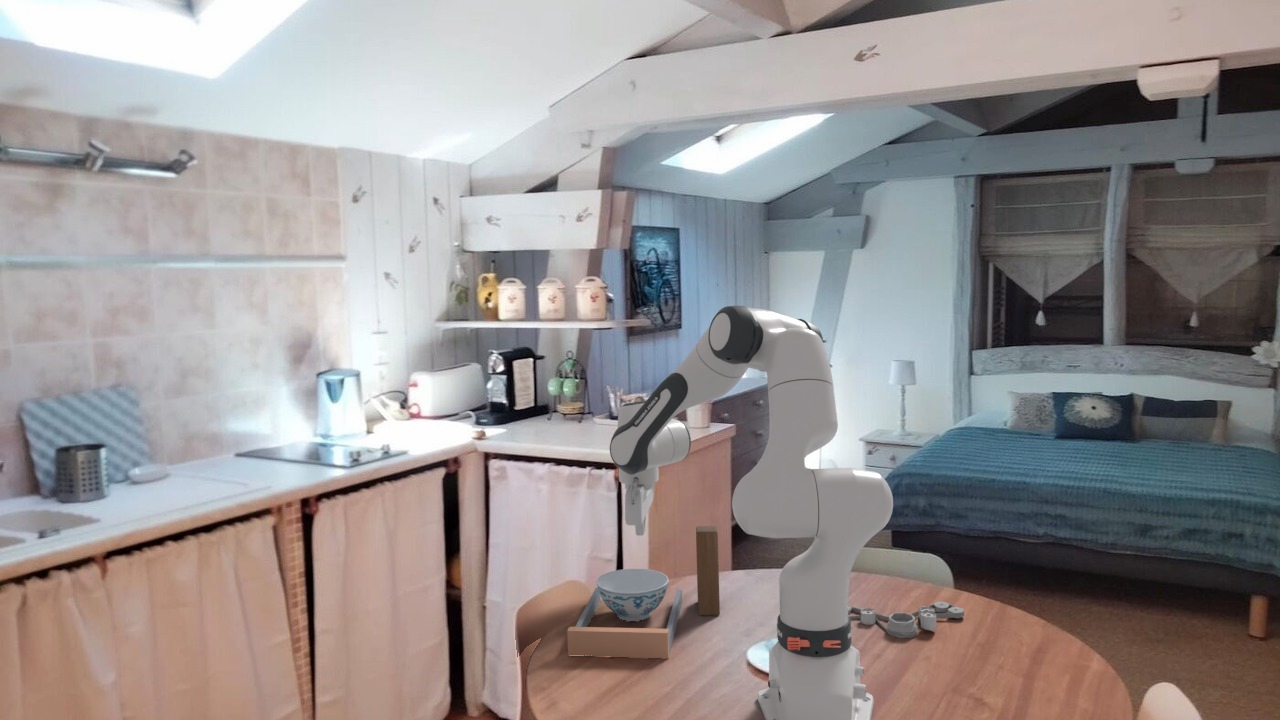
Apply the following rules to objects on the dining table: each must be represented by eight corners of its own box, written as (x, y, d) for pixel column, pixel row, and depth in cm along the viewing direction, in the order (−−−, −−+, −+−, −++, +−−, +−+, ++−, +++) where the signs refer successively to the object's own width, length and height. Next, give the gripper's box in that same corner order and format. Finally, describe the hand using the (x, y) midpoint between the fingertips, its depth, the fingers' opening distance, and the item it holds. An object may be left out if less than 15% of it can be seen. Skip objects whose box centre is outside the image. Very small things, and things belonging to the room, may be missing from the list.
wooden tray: (668, 659, 169) (667, 633, 169) (568, 656, 172) (567, 630, 171) (682, 602, 198) (681, 580, 197) (596, 601, 200) (595, 579, 200)
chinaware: (586, 611, 194) (585, 576, 194) (648, 598, 201) (647, 564, 200) (617, 635, 181) (615, 597, 180) (682, 620, 188) (681, 583, 187)
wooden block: (698, 600, 199) (696, 520, 197) (719, 600, 198) (717, 519, 197) (698, 616, 190) (695, 531, 188) (719, 616, 189) (717, 531, 188)
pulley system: (978, 643, 174) (959, 610, 189) (978, 620, 173) (958, 588, 188) (833, 647, 177) (825, 614, 192) (832, 624, 176) (824, 593, 191)
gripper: (646, 484, 191) (648, 548, 192) (658, 462, 211) (660, 520, 212) (617, 484, 192) (619, 548, 193) (631, 462, 212) (633, 520, 213)
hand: (640, 533), depth 203 cm, fingers closed
